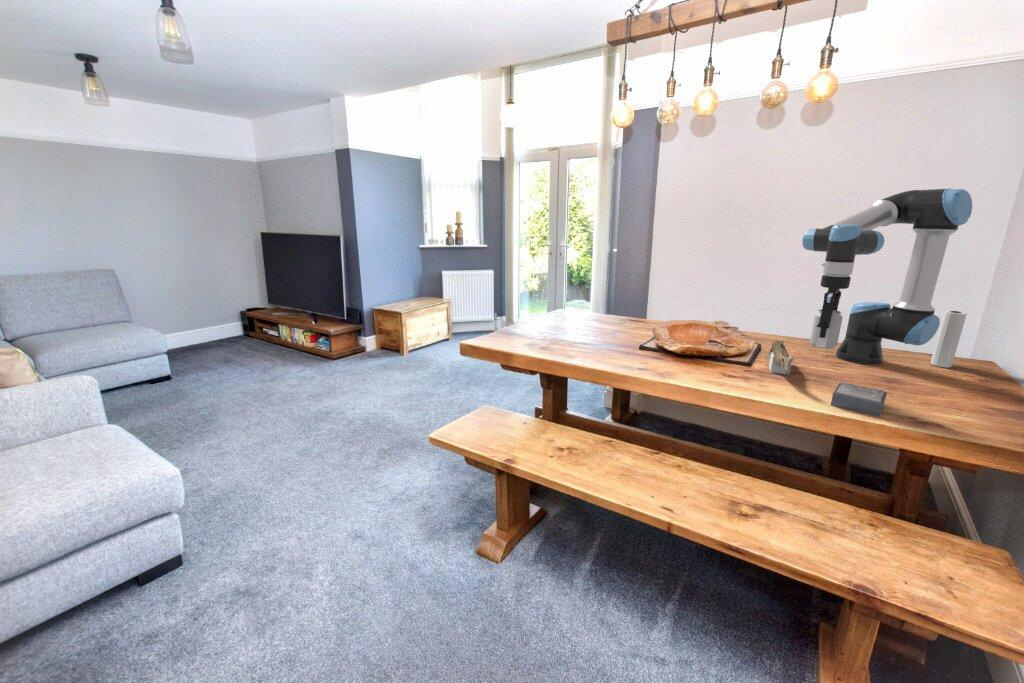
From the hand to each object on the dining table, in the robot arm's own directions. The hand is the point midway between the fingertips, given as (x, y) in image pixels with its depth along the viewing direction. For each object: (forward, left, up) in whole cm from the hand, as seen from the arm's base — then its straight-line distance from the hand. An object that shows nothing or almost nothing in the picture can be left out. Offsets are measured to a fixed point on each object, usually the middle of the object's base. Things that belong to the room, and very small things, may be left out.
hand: (823, 344), depth 149 cm
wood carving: (-7, -12, -15) cm, 21 cm away
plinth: (+9, +13, -15) cm, 22 cm away
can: (0, 0, -1) cm, 1 cm away
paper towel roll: (-61, +32, -15) cm, 70 cm away
